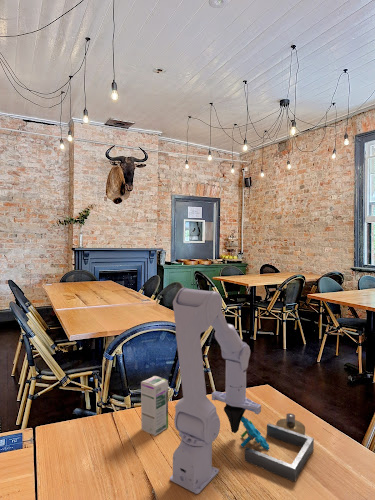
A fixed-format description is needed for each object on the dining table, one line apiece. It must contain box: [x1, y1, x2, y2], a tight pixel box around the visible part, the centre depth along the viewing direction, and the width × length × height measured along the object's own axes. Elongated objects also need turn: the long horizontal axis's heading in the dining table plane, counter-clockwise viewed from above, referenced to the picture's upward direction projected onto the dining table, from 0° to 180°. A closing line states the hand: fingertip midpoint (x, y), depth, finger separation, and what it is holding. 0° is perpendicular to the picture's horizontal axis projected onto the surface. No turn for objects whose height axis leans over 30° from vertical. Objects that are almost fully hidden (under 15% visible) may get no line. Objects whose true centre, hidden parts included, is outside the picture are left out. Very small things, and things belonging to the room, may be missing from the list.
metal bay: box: [244, 422, 315, 483], centre depth 89 cm, size 15×13×3 cm
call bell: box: [275, 412, 306, 435], centre depth 100 cm, size 8×8×5 cm
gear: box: [240, 415, 270, 451], centre depth 93 cm, size 11×6×10 cm
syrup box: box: [140, 375, 169, 437], centre depth 101 cm, size 6×6×14 cm
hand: (235, 431), depth 97 cm, fingers closed
